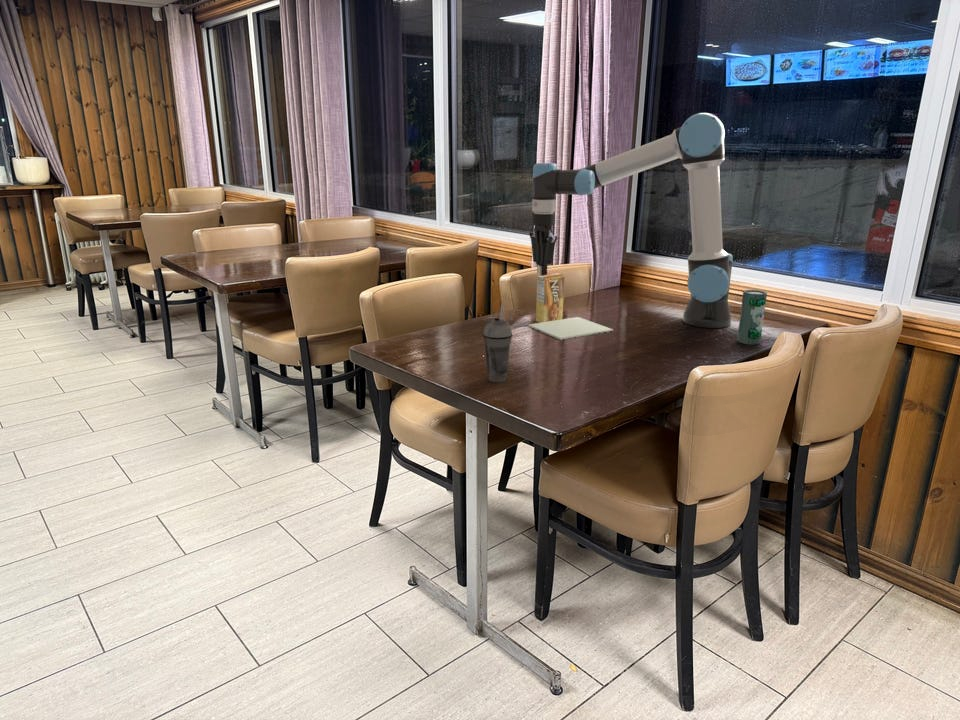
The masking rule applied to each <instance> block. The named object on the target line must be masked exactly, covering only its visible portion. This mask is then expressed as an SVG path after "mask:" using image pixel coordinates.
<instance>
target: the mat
mask: <svg viewBox="0 0 960 720" xmlns="http://www.w3.org/2000/svg"><path fill="white" fill-rule="evenodd" d="M527 327H529V328H531V329H533V328H534V329H533V330H535V331H538V330H539V331H538V332H541V333H543V334H545V335H548V336H551V337H552V338H555V339H557V340H559V341H563V339H564V340H569V338H570V339H575V338H574V337H576V338H582V337H587V336H593V334H594V335H599V333H600V334H605V333H604V332H606V333H611V332H610V331H612V332H613V331H614V329H613V328H611V327H610V328H609V327H608V326H605V325H602V324H599V323H596V322H593V321H590V320H588V319H585V318H583V317H580V316H576V317H568V318H562V319H561V320H555V321H548V322H541V323H540V322H535V323H531V324H530V323H529V324H528V325H527ZM581 336H582V337H581Z"/></svg>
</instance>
